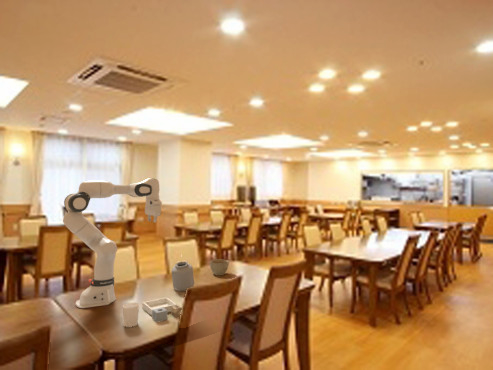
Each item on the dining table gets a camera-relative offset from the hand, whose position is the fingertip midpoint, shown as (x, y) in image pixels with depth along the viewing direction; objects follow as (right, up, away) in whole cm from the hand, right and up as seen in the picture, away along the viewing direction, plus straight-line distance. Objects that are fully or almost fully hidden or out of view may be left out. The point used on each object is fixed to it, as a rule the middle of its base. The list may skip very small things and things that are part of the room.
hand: (152, 221), depth 220 cm
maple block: (+26, -48, -41) cm, 68 cm away
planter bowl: (+42, -50, +47) cm, 81 cm away
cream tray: (+14, -48, -33) cm, 60 cm away
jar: (+20, -49, +5) cm, 53 cm away
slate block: (+18, -47, -47) cm, 69 cm away
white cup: (+5, -47, -55) cm, 73 cm away
